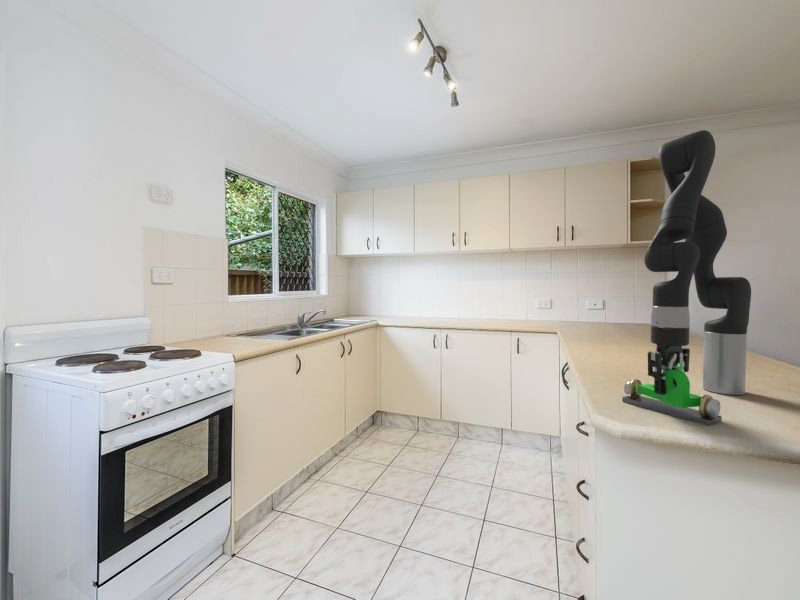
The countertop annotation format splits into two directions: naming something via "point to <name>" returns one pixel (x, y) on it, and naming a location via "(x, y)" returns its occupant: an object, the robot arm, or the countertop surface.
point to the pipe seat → (704, 415)
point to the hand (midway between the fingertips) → (668, 391)
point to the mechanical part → (673, 390)
